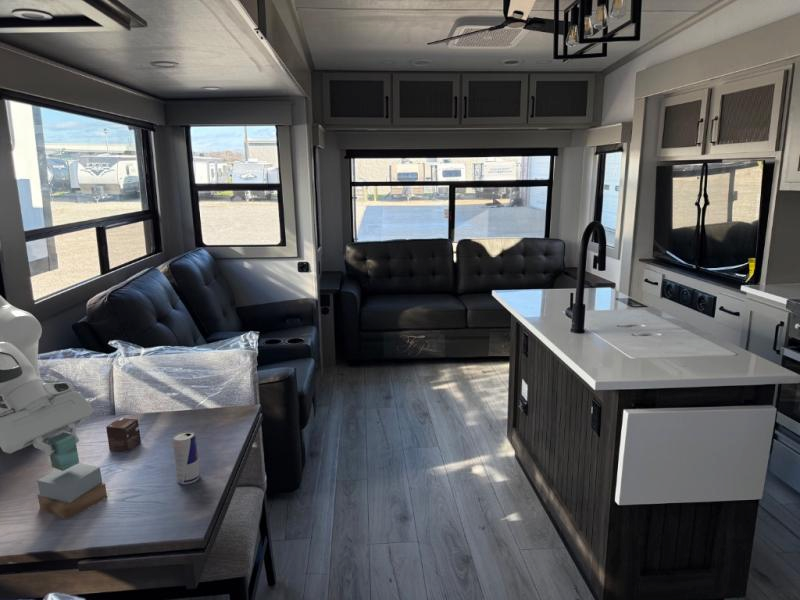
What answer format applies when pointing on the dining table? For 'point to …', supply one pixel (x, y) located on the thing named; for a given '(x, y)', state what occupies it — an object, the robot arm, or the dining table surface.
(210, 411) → the dining table surface
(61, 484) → the tower top
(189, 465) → the energy drink
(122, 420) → the box
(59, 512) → the tower base
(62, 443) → the block
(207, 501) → the dining table surface
